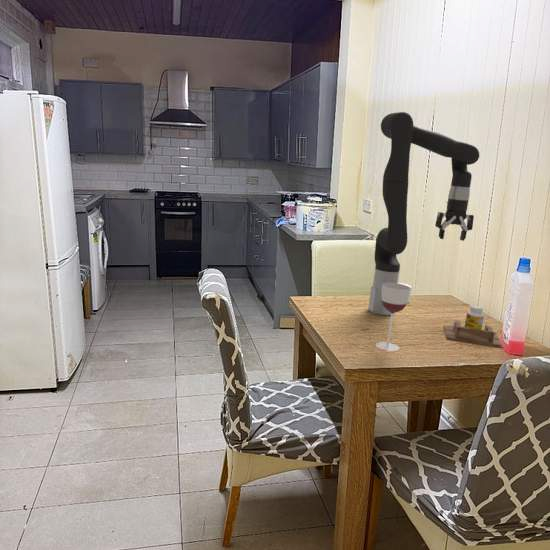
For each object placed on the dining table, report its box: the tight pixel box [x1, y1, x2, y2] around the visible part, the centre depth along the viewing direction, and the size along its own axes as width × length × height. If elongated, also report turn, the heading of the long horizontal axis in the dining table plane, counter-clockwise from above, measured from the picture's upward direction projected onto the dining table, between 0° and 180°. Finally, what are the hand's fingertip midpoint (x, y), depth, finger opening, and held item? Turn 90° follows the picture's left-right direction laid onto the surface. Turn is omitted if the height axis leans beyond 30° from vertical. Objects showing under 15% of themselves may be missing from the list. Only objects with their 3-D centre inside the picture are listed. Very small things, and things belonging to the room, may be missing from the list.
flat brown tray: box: [443, 319, 503, 348], centre depth 178 cm, size 14×18×4 cm
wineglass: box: [375, 282, 410, 352], centre depth 160 cm, size 8×9×20 cm
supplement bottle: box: [464, 305, 485, 330], centre depth 178 cm, size 6×6×10 cm
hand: (451, 239), depth 200 cm, fingers open, 8 cm apart
